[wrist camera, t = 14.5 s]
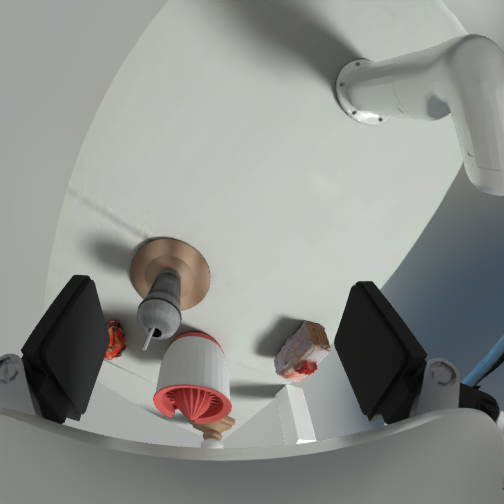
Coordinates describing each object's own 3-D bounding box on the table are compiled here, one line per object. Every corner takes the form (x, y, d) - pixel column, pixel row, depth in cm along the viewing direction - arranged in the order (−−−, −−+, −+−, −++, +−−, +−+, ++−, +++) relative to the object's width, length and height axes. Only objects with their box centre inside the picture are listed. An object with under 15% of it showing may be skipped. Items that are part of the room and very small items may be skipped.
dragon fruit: (107, 340, 61) (119, 306, 58) (126, 364, 58) (141, 331, 56) (82, 347, 53) (92, 312, 50) (101, 374, 50) (114, 339, 48)
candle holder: (210, 408, 74) (211, 475, 53) (235, 419, 78) (240, 481, 57) (189, 418, 77) (187, 480, 56) (213, 428, 81) (215, 486, 60)
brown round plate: (210, 239, 49) (210, 241, 48) (210, 309, 56) (210, 312, 55) (127, 237, 47) (125, 239, 47) (137, 306, 54) (136, 309, 54)
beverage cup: (165, 298, 53) (146, 376, 35) (144, 270, 50) (114, 345, 32) (195, 284, 52) (186, 363, 34) (175, 255, 49) (153, 329, 31)
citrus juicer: (156, 361, 63) (144, 427, 45) (173, 315, 56) (159, 390, 38) (213, 377, 67) (213, 442, 49) (239, 335, 60) (246, 409, 43)
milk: (290, 397, 75) (304, 458, 55) (274, 394, 73) (286, 458, 53) (302, 387, 73) (319, 450, 53) (285, 383, 71) (300, 450, 51)
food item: (296, 361, 67) (304, 391, 58) (269, 355, 65) (275, 386, 56) (326, 325, 62) (339, 354, 53) (299, 316, 60) (309, 347, 51)
